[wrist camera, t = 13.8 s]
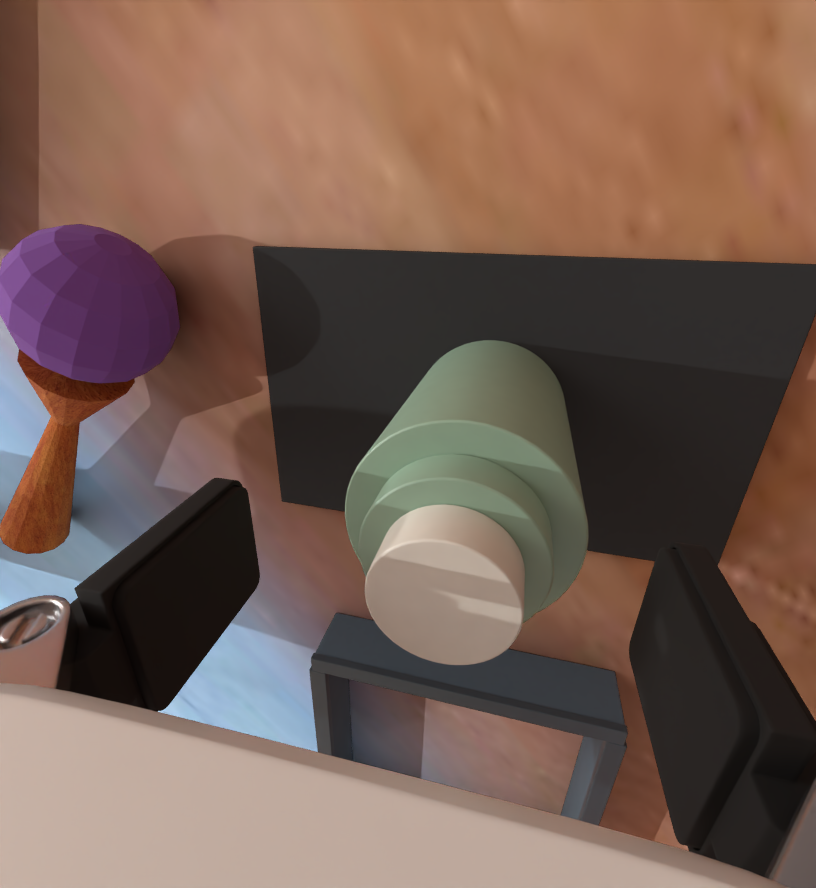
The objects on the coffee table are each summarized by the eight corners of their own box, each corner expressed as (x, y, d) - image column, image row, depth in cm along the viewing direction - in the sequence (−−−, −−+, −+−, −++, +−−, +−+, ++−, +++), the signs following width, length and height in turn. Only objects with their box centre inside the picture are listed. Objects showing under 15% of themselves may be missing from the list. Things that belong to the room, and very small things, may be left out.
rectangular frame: (343, 770, 33) (325, 824, 30) (333, 609, 26) (307, 657, 23) (567, 834, 30) (571, 902, 27) (619, 669, 23) (632, 734, 20)
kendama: (-59, 515, 25) (-40, 176, 14) (57, 473, 30) (135, 199, 19) (9, 595, 25) (82, 307, 14) (116, 539, 30) (229, 296, 19)
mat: (286, 496, 24) (281, 501, 23) (258, 246, 19) (252, 246, 18) (711, 563, 20) (716, 571, 19) (826, 264, 14) (835, 265, 14)
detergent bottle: (414, 468, 21) (310, 676, 11) (419, 334, 18) (288, 452, 8) (552, 486, 19) (572, 741, 10) (578, 345, 17) (639, 500, 7)
